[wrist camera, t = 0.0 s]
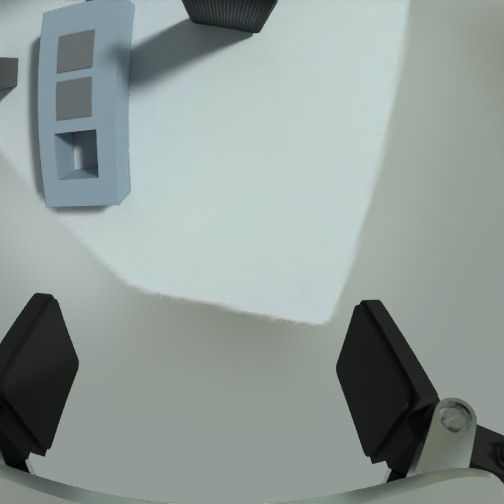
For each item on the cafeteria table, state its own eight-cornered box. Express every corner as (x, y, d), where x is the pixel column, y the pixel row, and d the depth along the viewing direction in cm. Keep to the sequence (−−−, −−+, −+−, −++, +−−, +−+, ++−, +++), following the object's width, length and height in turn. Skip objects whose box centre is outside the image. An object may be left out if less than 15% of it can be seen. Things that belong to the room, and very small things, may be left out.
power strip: (65, -7, 24) (47, -16, 19) (138, -21, 25) (127, -36, 20) (63, 194, 37) (45, 207, 32) (130, 191, 38) (118, 205, 33)
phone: (260, 26, 30) (283, -14, 17) (258, 34, 30) (279, -2, 17) (193, 15, 28) (175, -31, 15) (191, 23, 29) (171, -19, 16)
